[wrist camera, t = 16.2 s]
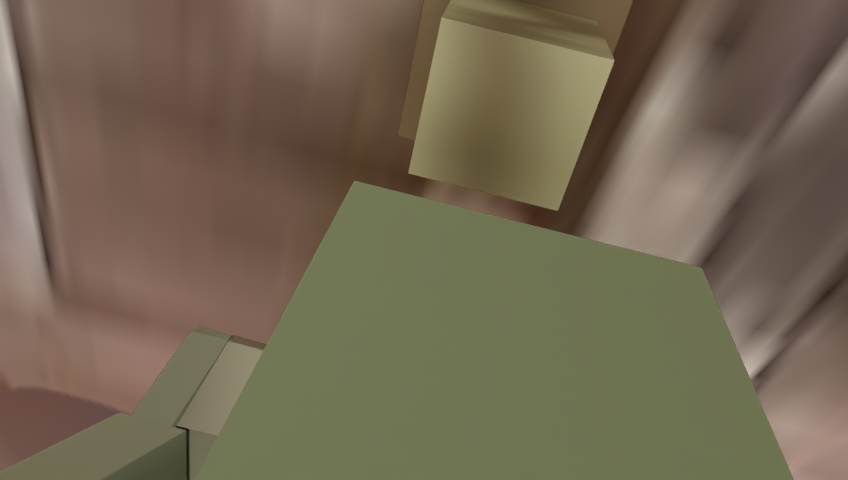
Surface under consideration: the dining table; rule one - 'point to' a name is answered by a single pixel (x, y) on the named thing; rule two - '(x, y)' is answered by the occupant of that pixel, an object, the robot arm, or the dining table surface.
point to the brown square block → (600, 3)
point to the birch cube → (510, 99)
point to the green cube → (492, 361)
